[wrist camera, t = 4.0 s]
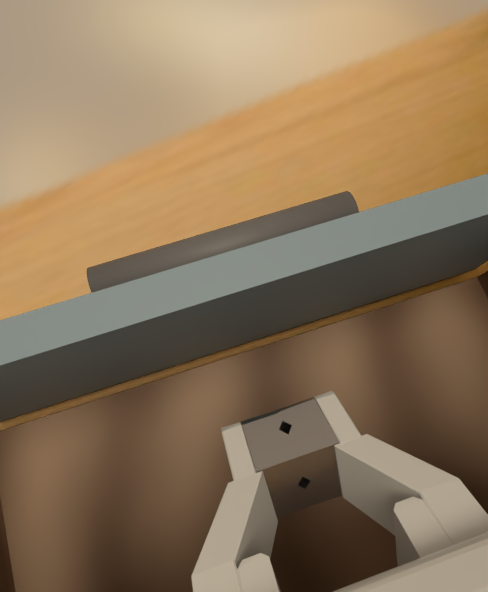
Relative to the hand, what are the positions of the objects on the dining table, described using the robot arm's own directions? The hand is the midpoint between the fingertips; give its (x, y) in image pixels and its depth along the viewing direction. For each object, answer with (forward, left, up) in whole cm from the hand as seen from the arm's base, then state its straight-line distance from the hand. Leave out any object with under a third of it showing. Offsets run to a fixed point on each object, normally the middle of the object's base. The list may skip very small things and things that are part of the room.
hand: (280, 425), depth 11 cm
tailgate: (0, -4, -9) cm, 10 cm away
